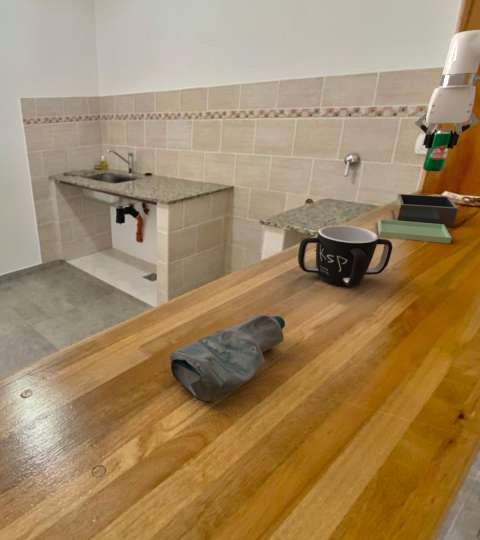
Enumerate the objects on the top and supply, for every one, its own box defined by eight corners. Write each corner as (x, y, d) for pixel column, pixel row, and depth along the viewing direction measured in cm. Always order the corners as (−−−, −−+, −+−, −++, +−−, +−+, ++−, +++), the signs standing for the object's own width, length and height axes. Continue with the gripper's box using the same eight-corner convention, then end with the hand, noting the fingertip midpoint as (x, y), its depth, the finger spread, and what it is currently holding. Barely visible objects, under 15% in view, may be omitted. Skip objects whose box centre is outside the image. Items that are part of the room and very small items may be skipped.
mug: (287, 275, 97) (293, 230, 92) (329, 261, 103) (337, 218, 98) (348, 302, 83) (359, 251, 78) (392, 283, 90) (405, 235, 85)
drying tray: (442, 229, 120) (444, 224, 119) (450, 243, 109) (451, 237, 109) (377, 224, 128) (379, 219, 127) (379, 236, 117) (380, 231, 117)
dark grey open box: (443, 214, 133) (449, 196, 130) (451, 228, 121) (458, 208, 118) (393, 211, 140) (397, 193, 137) (396, 223, 128) (401, 204, 125)
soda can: (426, 171, 117) (437, 130, 112) (419, 168, 121) (429, 128, 116) (445, 171, 116) (458, 129, 111) (438, 168, 120) (449, 128, 115)
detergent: (210, 420, 55) (314, 354, 67) (208, 380, 53) (316, 318, 64) (155, 377, 66) (253, 326, 77) (152, 342, 63) (253, 294, 75)
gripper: (493, 79, 107) (472, 146, 114) (418, 83, 115) (403, 146, 123) (500, 79, 101) (477, 150, 109) (420, 83, 109) (404, 149, 117)
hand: (438, 147), depth 116 cm, fingers closed on soda can, 5 cm apart
